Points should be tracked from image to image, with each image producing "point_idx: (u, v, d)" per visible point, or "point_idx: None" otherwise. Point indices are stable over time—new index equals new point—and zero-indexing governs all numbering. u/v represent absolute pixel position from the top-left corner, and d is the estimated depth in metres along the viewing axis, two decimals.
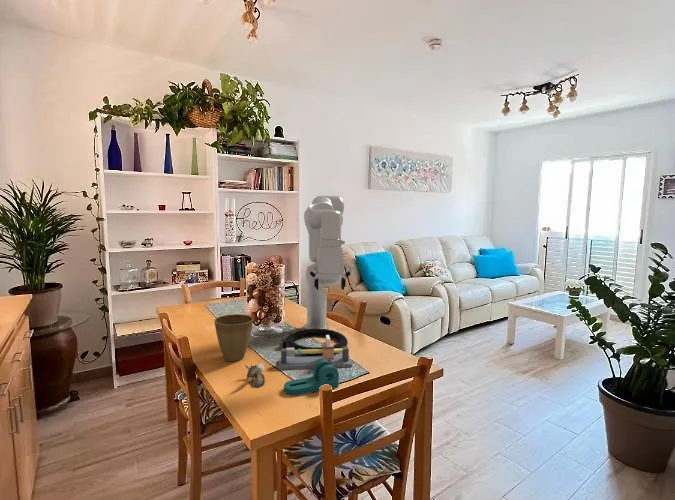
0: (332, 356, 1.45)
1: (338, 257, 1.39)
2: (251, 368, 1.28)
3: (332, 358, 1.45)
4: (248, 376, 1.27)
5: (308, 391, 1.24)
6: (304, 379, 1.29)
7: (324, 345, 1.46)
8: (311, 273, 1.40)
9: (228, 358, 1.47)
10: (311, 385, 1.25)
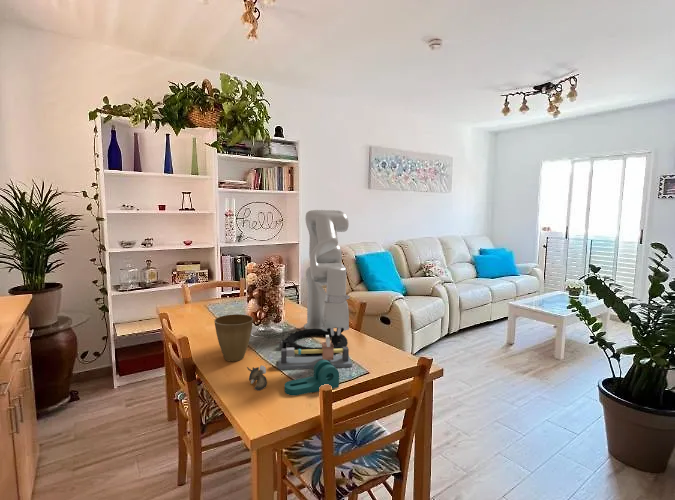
0: (332, 356, 1.45)
1: (343, 312, 1.44)
2: (253, 370, 1.26)
3: (332, 358, 1.45)
4: (250, 378, 1.25)
5: (308, 391, 1.24)
6: (304, 379, 1.29)
7: (324, 345, 1.46)
8: (328, 330, 1.45)
9: (228, 358, 1.47)
10: (311, 385, 1.25)
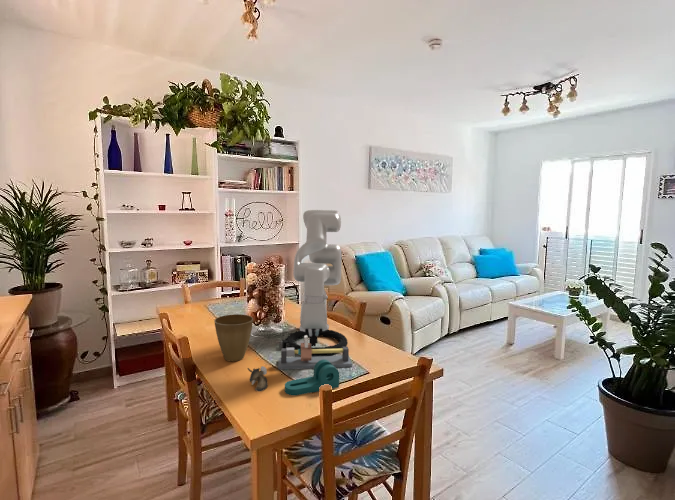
0: (310, 357, 1.44)
1: (321, 312, 1.43)
2: (254, 371, 1.26)
3: (310, 359, 1.44)
4: (251, 379, 1.24)
5: (308, 391, 1.24)
6: (304, 379, 1.29)
7: (302, 346, 1.45)
8: (306, 330, 1.44)
9: (228, 358, 1.47)
10: (311, 385, 1.25)
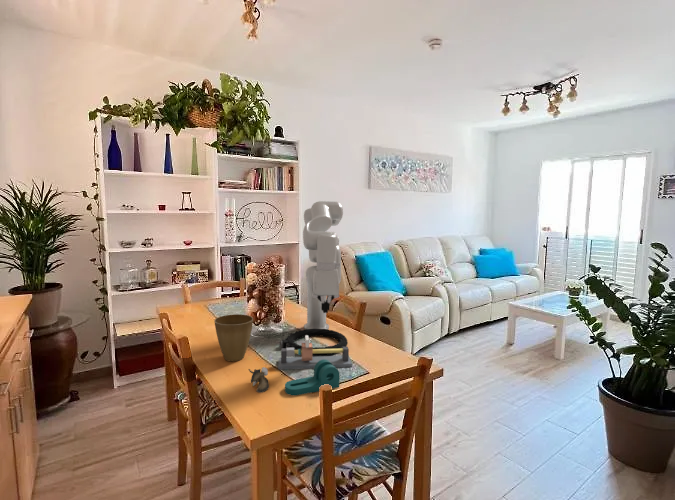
0: (311, 357, 1.44)
1: (334, 279, 1.44)
2: (255, 372, 1.25)
3: (311, 359, 1.44)
4: (252, 380, 1.24)
5: (309, 391, 1.24)
6: (304, 379, 1.29)
7: (303, 346, 1.45)
8: (318, 297, 1.45)
9: (228, 358, 1.47)
10: (312, 385, 1.25)
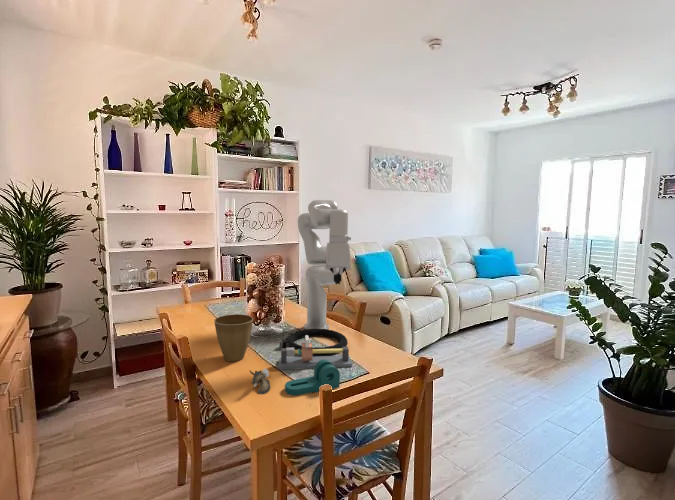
0: (311, 357, 1.44)
1: (345, 252, 1.54)
2: (256, 374, 1.24)
3: (311, 359, 1.44)
4: (253, 382, 1.23)
5: (309, 391, 1.24)
6: (305, 379, 1.29)
7: (303, 346, 1.45)
8: (331, 269, 1.56)
9: (228, 358, 1.47)
10: (312, 385, 1.25)
